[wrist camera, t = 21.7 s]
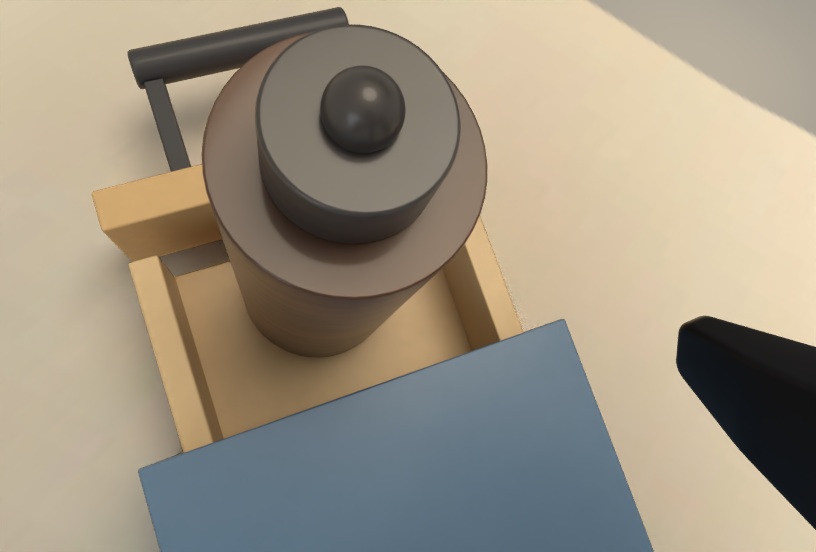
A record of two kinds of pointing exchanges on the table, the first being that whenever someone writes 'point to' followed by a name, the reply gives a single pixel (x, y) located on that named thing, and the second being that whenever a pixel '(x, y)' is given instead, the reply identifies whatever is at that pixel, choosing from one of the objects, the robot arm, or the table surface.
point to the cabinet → (416, 467)
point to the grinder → (340, 182)
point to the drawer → (219, 291)
